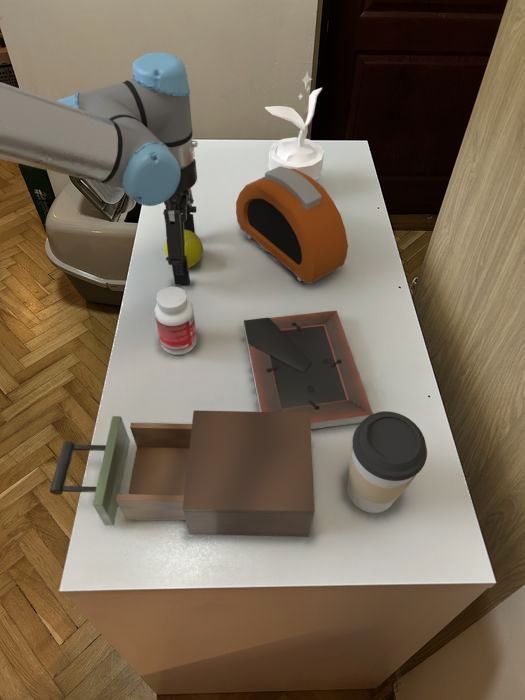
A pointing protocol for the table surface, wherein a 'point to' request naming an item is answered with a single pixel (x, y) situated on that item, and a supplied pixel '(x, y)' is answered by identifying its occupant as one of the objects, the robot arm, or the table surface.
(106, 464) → the drawer
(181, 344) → the pill bottle
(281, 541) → the table surface
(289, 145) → the potted plant
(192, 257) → the tennis ball
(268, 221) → the alarm clock
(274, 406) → the picture frame
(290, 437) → the cabinet
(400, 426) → the coffee cup
